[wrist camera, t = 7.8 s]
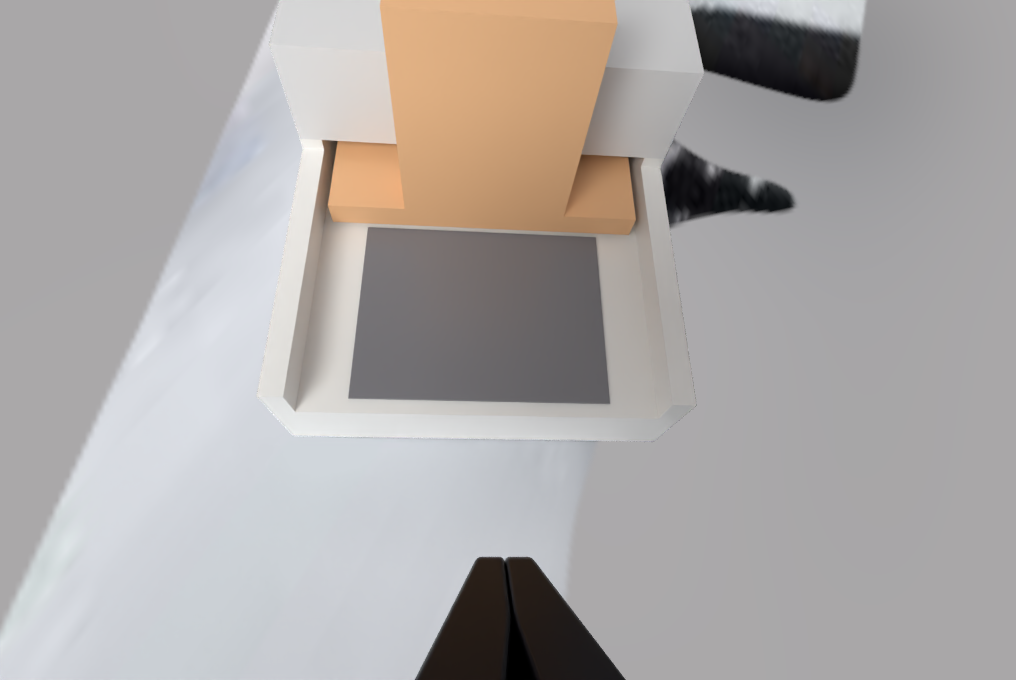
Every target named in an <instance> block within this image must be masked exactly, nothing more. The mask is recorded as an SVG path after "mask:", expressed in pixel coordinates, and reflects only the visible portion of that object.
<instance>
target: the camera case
mask: <svg viewBox="0 0 1016 680" xmlns="http://www.w3.org/2000/svg"><path fill="white" fill-rule="evenodd" d="M615 7H616V15H617V22H618V24H617V28H616V32H615V35H614V39H613V42H612V46H611V49H610V53H609V57H608V60H607V64H606V67H605V71H604V75H603V78H602V82H601V85H600V89H599V92H598V96H597V100H596V103H595V107H594V110H593V114H592V118H591V121H590V125H589V128H588V132H587V135H586V139H585V143H584V146H583V150H582V153H581V154H584V155H602V156H620V157H628V160H629V168H630V176H631V184H632V192H633V200H634V208H635V217H636V221H635V223H634V225H633V227H632V229H631V231H630V233H629V235H617V234H595V233H572V232H550V231H528V230H505V229H483V228H460V227H438V226H416V225H393V224H371V223H348V222H333V220H332V217H331V214H330V211H329V208H328V201H329V195H330V188H331V182H332V175H333V169H334V162H335V156H336V149H337V143H338V141H350V142H368V143H386V144H397V143H396V135H395V127H394V118H393V110H392V102H391V94H390V86H389V78H388V70H387V61H386V53H385V45H384V37H383V29H382V21H381V13H380V0H279V4H278V8H277V12H276V16H275V20H274V24H273V28H272V32H271V36H270V41H269V47H270V50H271V53H272V56H273V59H274V62H275V65H276V68H277V71H278V74H279V77H280V80H281V83H282V86H283V89H284V92H285V96H286V99H287V102H288V105H289V108H290V111H291V114H292V117H293V120H294V123H295V126H296V129H297V132H298V135H299V138H300V141H301V144H302V148H303V150H302V155H301V160H300V166H299V171H298V177H297V182H296V187H295V193H294V198H293V203H292V209H291V214H290V219H289V225H288V230H287V235H286V241H285V246H284V251H283V257H282V262H281V267H280V273H279V278H278V283H277V289H276V294H275V299H274V305H273V310H272V315H271V321H270V326H269V331H268V337H267V342H266V347H265V353H264V358H263V364H262V369H261V374H260V380H259V385H258V390H257V396H256V397H257V398H258V399H259V400H260V401H261V402H262V403H263V404H264V405H265V406H266V407H267V408H268V410H269V411H270V412H271V413H272V414H273V415H274V416H275V417H276V418H277V419H278V420H279V421H280V423H281V424H282V425H283V426H284V427H285V428H286V429H287V430H288V431H289V432H290V433H291V434H292V436H318V437H382V438H446V439H511V440H575V441H640V442H641V441H643V442H654V441H655V440H656V439H657V438H659V437H660V436H661V435H662V434H664V433H665V432H666V431H667V430H668V429H669V428H671V427H672V426H673V425H674V424H675V423H677V422H678V421H679V420H680V419H681V418H682V417H684V416H685V415H686V414H687V413H688V412H690V411H691V410H692V409H693V408H694V407H696V405H697V404H696V398H695V391H694V385H693V378H692V372H691V365H690V359H689V352H688V346H687V339H686V333H685V326H684V320H683V313H682V306H681V300H680V293H679V287H678V280H677V273H676V267H675V260H674V254H673V247H672V241H671V234H670V228H669V221H668V214H667V208H666V201H665V195H664V188H663V182H662V175H661V169H660V167H661V165H662V163H663V161H664V159H665V157H666V155H667V152H668V150H669V148H670V146H671V144H672V142H673V140H674V137H675V135H676V133H677V130H678V129H679V127H680V124H681V122H682V120H683V118H684V116H685V114H686V111H687V110H688V107H689V105H690V103H691V101H692V99H693V97H694V95H695V92H696V90H697V88H698V86H699V84H700V82H701V80H702V77H703V75H704V70H703V65H702V61H701V56H700V51H699V47H698V42H697V37H696V33H695V28H694V23H693V18H692V14H691V9H690V4H689V0H615Z"/></svg>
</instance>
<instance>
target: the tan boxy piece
mask: <svg viewBox="0 0 1016 680" xmlns="http://www.w3.org/2000/svg"><path fill="white" fill-rule="evenodd" d="M380 13H381V21H382V29H383V37H384V45H385V53H386V61H387V70H388V78H389V86H390V94H391V102H392V110H393V118H394V127H395V135H396V143H397V144H386V143H368V142H350V141H338V143H337V149H336V156H335V162H334V169H333V175H332V182H331V188H330V195H329V201H328V208H329V211H330V214H331V217H332V220H333V222H348V223H371V224H393V225H416V226H438V227H460V228H483V229H505V230H528V231H550V232H572V233H595V234H617V235H629V233H630V231H631V229H632V227H633V225H634V223H635V221H636V217H635V208H634V200H633V192H632V184H631V176H630V168H629V160H628V157H620V156H602V155H584V154H581V153H582V150H583V146H584V143H585V139H586V135H587V132H588V128H589V125H590V121H591V118H592V114H593V110H594V107H595V103H596V100H597V96H598V92H599V89H600V85H601V82H602V78H603V75H604V71H605V67H606V64H607V60H608V57H609V53H610V49H611V46H612V42H613V39H614V35H615V32H616V28H617V24H618V22H617V15H616V7H615V0H380Z"/></svg>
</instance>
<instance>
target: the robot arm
mask: <svg viewBox="0 0 1016 680" xmlns="http://www.w3.org/2000/svg"><path fill="white" fill-rule="evenodd" d="M415 680H625V678H624V677H623V676H622V674H621V673H620V672H619V670H618V669H617V668H616V667H615V665H614V664H613V663H612V661H611V660H610V659H609V657H608V656H607V655H606V654H605V652H604V651H603V650H602V648H601V647H600V646H599V644H598V643H597V642H596V641H595V639H594V638H593V637H592V635H591V634H590V633H589V631H588V630H587V629H586V628H585V626H584V625H583V624H582V622H581V621H580V620H579V618H578V617H577V616H576V614H575V613H574V612H573V611H572V609H571V608H570V607H569V605H568V604H567V603H566V601H565V600H564V599H563V598H562V596H561V595H560V594H559V592H558V591H557V590H556V588H555V587H554V586H553V584H552V583H551V582H550V581H549V579H548V578H547V577H546V575H545V574H544V573H543V571H542V570H541V569H540V568H539V566H538V565H537V564H536V562H535V561H534V560H533V559H532V558H530V557H508V558H506V560H505V561H504V560H503V558H501V557H479V558H477V559H476V561H475V563H474V564H473V566H472V568H471V570H470V572H469V574H468V576H467V578H466V580H465V582H464V584H463V586H462V588H461V590H460V592H459V594H458V596H457V598H456V600H455V602H454V604H453V606H452V608H451V610H450V612H449V614H448V616H447V618H446V620H445V622H444V623H443V625H442V627H441V629H440V631H439V633H438V635H437V637H436V639H435V641H434V643H433V645H432V647H431V649H430V651H429V653H428V655H427V657H426V659H425V661H424V663H423V665H422V667H421V669H420V671H419V673H418V675H417V677H416V679H415Z"/></svg>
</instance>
